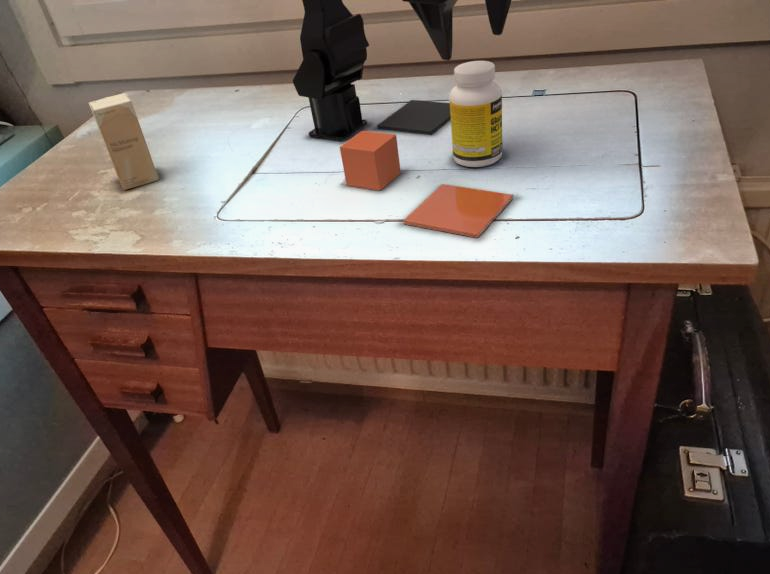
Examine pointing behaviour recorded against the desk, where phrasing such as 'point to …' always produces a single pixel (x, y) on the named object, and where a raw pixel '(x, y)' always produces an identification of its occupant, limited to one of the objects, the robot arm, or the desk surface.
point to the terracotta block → (370, 160)
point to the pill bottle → (476, 115)
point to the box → (124, 140)
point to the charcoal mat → (418, 117)
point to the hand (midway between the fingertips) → (472, 46)
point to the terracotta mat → (459, 210)
